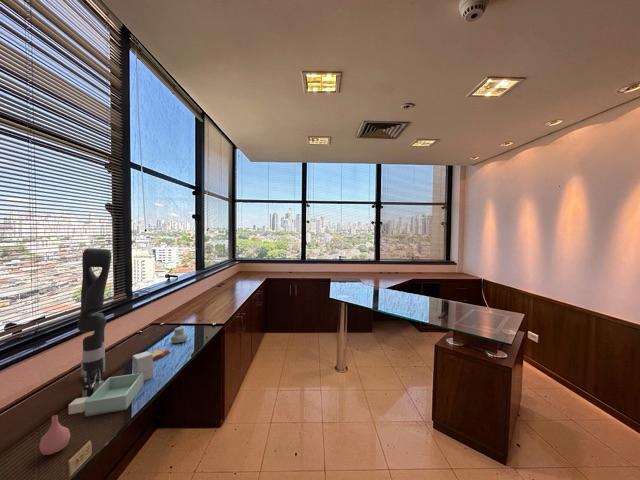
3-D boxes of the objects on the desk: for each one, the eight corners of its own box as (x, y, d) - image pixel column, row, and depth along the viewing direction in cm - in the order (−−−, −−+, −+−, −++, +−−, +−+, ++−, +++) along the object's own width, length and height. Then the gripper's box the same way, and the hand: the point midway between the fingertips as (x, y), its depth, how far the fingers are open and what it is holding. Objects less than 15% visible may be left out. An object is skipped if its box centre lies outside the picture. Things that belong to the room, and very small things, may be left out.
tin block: (82, 399, 124) (82, 388, 124) (89, 392, 130) (89, 382, 130) (98, 397, 126) (97, 386, 126) (104, 390, 132) (104, 380, 132)
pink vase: (51, 461, 88) (50, 424, 88) (32, 458, 90) (32, 422, 90) (76, 444, 96) (75, 410, 96) (59, 441, 97) (58, 408, 97)
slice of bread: (136, 368, 156) (136, 361, 156) (136, 357, 171) (136, 351, 171) (171, 360, 166) (171, 353, 166) (168, 350, 181) (168, 345, 181)
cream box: (68, 414, 113) (68, 405, 113) (75, 407, 118) (75, 398, 118) (82, 412, 115) (82, 403, 115) (89, 405, 120) (89, 396, 120)
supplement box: (148, 373, 148) (147, 350, 148) (153, 377, 143) (153, 353, 143) (132, 379, 142) (132, 355, 142) (137, 383, 137) (136, 358, 137)
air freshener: (168, 343, 193) (168, 329, 193) (178, 339, 201) (177, 326, 201) (180, 344, 190) (180, 330, 190) (189, 340, 198) (189, 327, 198)
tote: (85, 416, 111) (84, 402, 112) (109, 389, 132) (109, 377, 132) (126, 409, 116) (125, 395, 116) (143, 384, 136) (143, 372, 136)
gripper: (91, 353, 134) (92, 387, 134) (74, 365, 120) (75, 403, 120) (109, 351, 136) (110, 384, 136) (94, 363, 122) (95, 400, 122)
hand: (93, 393), depth 128 cm, fingers closed on tin block, 6 cm apart
